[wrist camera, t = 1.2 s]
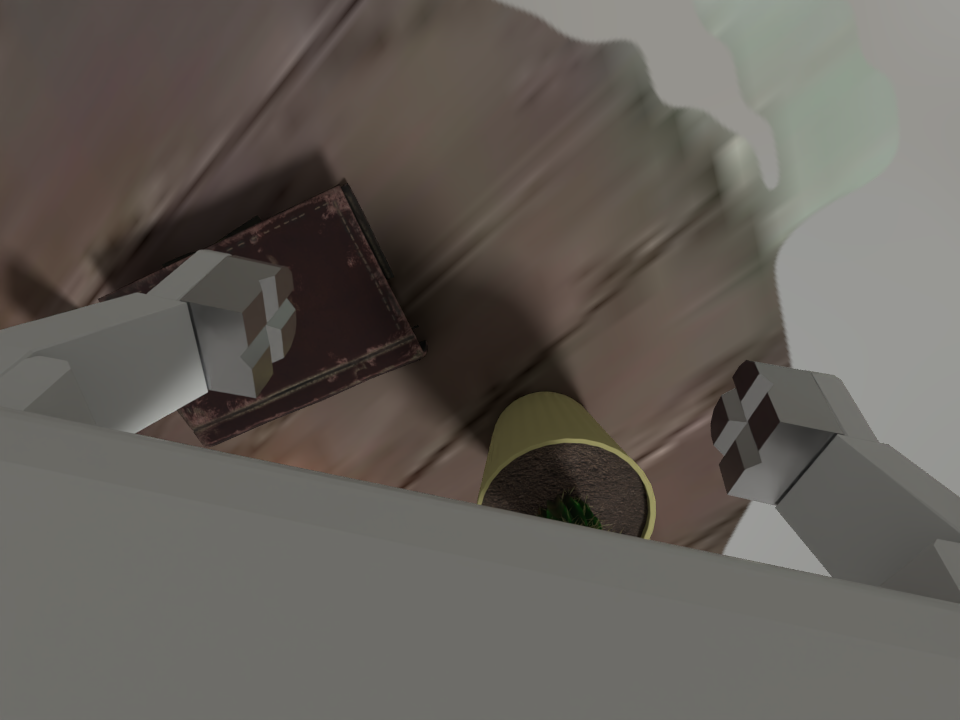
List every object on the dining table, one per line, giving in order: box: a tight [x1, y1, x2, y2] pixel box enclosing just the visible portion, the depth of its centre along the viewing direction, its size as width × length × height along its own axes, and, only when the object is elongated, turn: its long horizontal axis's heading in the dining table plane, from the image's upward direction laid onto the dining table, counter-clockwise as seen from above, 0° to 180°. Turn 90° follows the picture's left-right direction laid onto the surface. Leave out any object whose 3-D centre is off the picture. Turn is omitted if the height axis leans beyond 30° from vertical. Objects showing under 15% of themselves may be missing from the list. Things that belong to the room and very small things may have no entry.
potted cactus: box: [477, 392, 656, 540], centre depth 45 cm, size 15×15×30 cm
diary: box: [98, 183, 428, 447], centre depth 53 cm, size 19×25×5 cm
